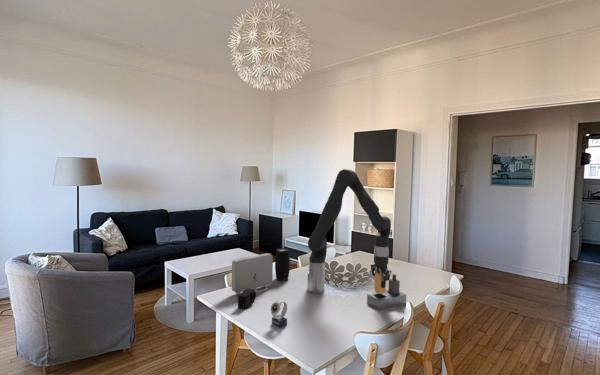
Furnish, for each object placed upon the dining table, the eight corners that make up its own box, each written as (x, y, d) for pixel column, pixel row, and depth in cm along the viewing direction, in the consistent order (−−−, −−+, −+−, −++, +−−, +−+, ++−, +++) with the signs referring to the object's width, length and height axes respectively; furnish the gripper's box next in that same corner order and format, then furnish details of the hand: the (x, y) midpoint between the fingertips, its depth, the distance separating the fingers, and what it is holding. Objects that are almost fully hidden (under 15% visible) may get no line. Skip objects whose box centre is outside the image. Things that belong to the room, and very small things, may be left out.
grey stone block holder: (379, 310, 169) (380, 300, 168) (367, 303, 177) (367, 293, 177) (406, 303, 178) (406, 294, 177) (392, 297, 186) (392, 288, 186)
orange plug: (379, 293, 172) (380, 269, 171) (374, 291, 176) (375, 267, 175) (385, 292, 174) (386, 268, 173) (380, 290, 178) (381, 266, 177)
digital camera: (247, 310, 166) (247, 296, 165) (237, 308, 168) (237, 295, 167) (256, 302, 176) (256, 289, 175) (247, 301, 177) (247, 288, 177)
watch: (268, 325, 150) (268, 301, 150) (281, 319, 156) (282, 297, 155) (276, 329, 146) (276, 305, 146) (289, 324, 152) (290, 300, 151)
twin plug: (393, 300, 177) (394, 276, 176) (388, 297, 181) (388, 274, 180) (398, 298, 179) (399, 275, 178) (393, 296, 183) (394, 273, 182)
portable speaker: (289, 281, 209) (290, 251, 208) (274, 281, 208) (275, 251, 207) (289, 276, 217) (289, 247, 216) (274, 277, 217) (275, 247, 215)
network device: (237, 298, 181) (237, 262, 180) (229, 293, 187) (229, 258, 186) (274, 287, 198) (275, 254, 196) (266, 283, 204) (266, 251, 203)
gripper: (366, 251, 178) (365, 283, 179) (385, 258, 166) (384, 291, 167) (377, 250, 182) (376, 281, 183) (396, 256, 169) (395, 289, 170)
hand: (380, 286), depth 175 cm, fingers closed on orange plug, 4 cm apart
